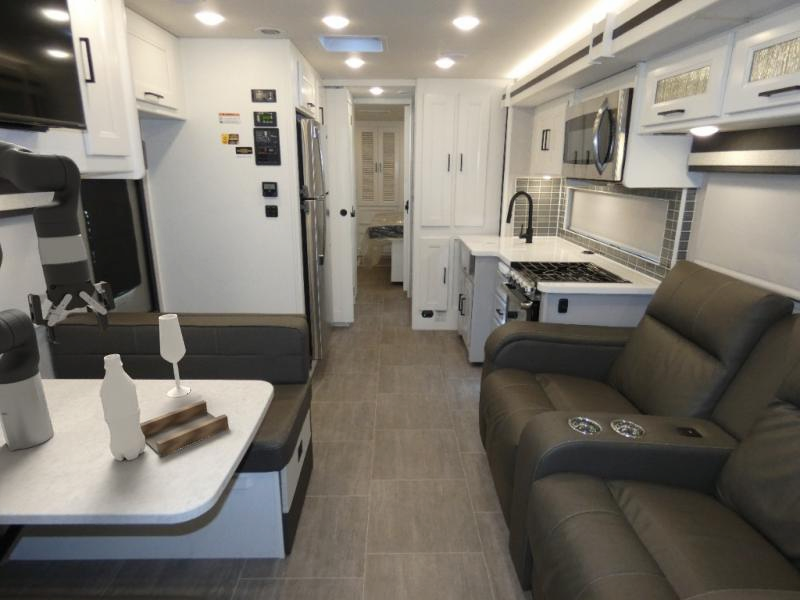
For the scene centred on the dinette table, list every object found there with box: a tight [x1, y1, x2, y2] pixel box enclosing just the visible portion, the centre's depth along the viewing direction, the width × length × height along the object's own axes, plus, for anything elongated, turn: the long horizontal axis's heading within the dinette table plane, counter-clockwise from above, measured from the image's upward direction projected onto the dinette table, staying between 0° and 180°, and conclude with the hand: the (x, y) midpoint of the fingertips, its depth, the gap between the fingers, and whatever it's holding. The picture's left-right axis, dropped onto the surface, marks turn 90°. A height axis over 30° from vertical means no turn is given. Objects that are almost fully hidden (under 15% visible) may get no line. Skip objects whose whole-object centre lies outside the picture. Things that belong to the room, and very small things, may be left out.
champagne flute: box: [158, 313, 191, 398], centre depth 139 cm, size 7×7×24 cm
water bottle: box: [99, 353, 147, 462], centre depth 108 cm, size 7×7×25 cm
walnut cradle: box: [140, 399, 230, 458], centre depth 120 cm, size 17×13×4 cm
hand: (80, 337), depth 96 cm, fingers open, 8 cm apart
